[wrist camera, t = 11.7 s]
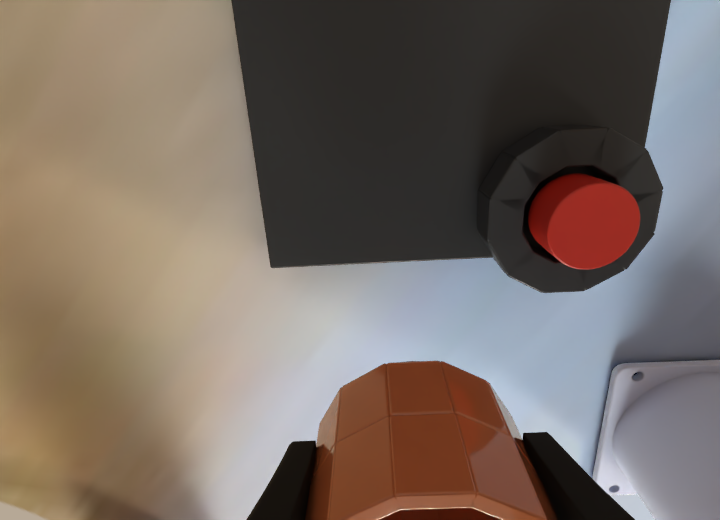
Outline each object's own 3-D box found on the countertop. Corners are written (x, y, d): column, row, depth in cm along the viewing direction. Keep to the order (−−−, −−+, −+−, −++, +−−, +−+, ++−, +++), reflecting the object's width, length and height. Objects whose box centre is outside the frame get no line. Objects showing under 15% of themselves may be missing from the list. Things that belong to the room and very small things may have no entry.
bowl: (510, 345, 11) (593, 489, 7) (500, 490, 13) (561, 671, 9) (313, 354, 12) (282, 498, 7) (331, 496, 14) (314, 674, 9)
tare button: (616, 170, 14) (649, 179, 12) (603, 249, 15) (632, 268, 13) (531, 175, 14) (552, 185, 12) (524, 253, 15) (543, 272, 13)
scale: (665, -120, 13) (744, -178, 10) (604, 259, 18) (649, 288, 15) (230, -83, 14) (195, -129, 11) (280, 274, 18) (263, 306, 16)
